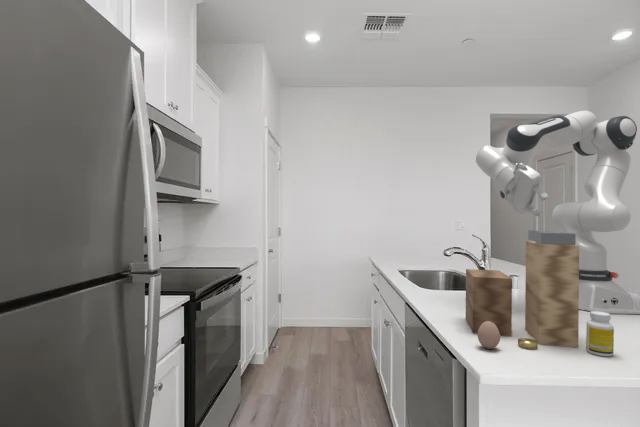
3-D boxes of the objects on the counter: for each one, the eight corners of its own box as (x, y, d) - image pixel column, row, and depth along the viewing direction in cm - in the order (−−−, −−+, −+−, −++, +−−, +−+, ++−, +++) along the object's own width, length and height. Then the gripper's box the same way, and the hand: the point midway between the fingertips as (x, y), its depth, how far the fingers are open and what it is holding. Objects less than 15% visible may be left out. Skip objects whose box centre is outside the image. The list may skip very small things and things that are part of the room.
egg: (498, 353, 92) (498, 325, 92) (475, 349, 95) (476, 322, 95) (501, 347, 96) (501, 320, 96) (479, 343, 99) (479, 317, 99)
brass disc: (534, 345, 99) (534, 338, 99) (540, 351, 94) (540, 344, 94) (516, 344, 100) (516, 337, 100) (520, 349, 96) (520, 342, 96)
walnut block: (498, 320, 121) (499, 270, 121) (511, 336, 105) (512, 278, 105) (465, 318, 123) (466, 269, 123) (472, 333, 108) (473, 276, 108)
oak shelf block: (559, 332, 110) (560, 242, 110) (578, 347, 97) (579, 245, 97) (525, 329, 112) (525, 241, 112) (539, 344, 99) (540, 244, 99)
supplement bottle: (618, 358, 90) (618, 316, 90) (592, 356, 91) (593, 315, 91) (606, 350, 95) (606, 311, 95) (582, 348, 96) (582, 309, 97)
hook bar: (519, 239, 120) (519, 229, 121) (547, 240, 119) (547, 230, 119) (541, 244, 100) (541, 232, 100) (575, 245, 98) (575, 233, 98)
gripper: (525, 155, 124) (558, 182, 116) (514, 192, 141) (543, 218, 133) (509, 164, 124) (541, 192, 116) (500, 200, 140) (527, 227, 132)
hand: (542, 206), depth 124 cm, fingers open, 8 cm apart
